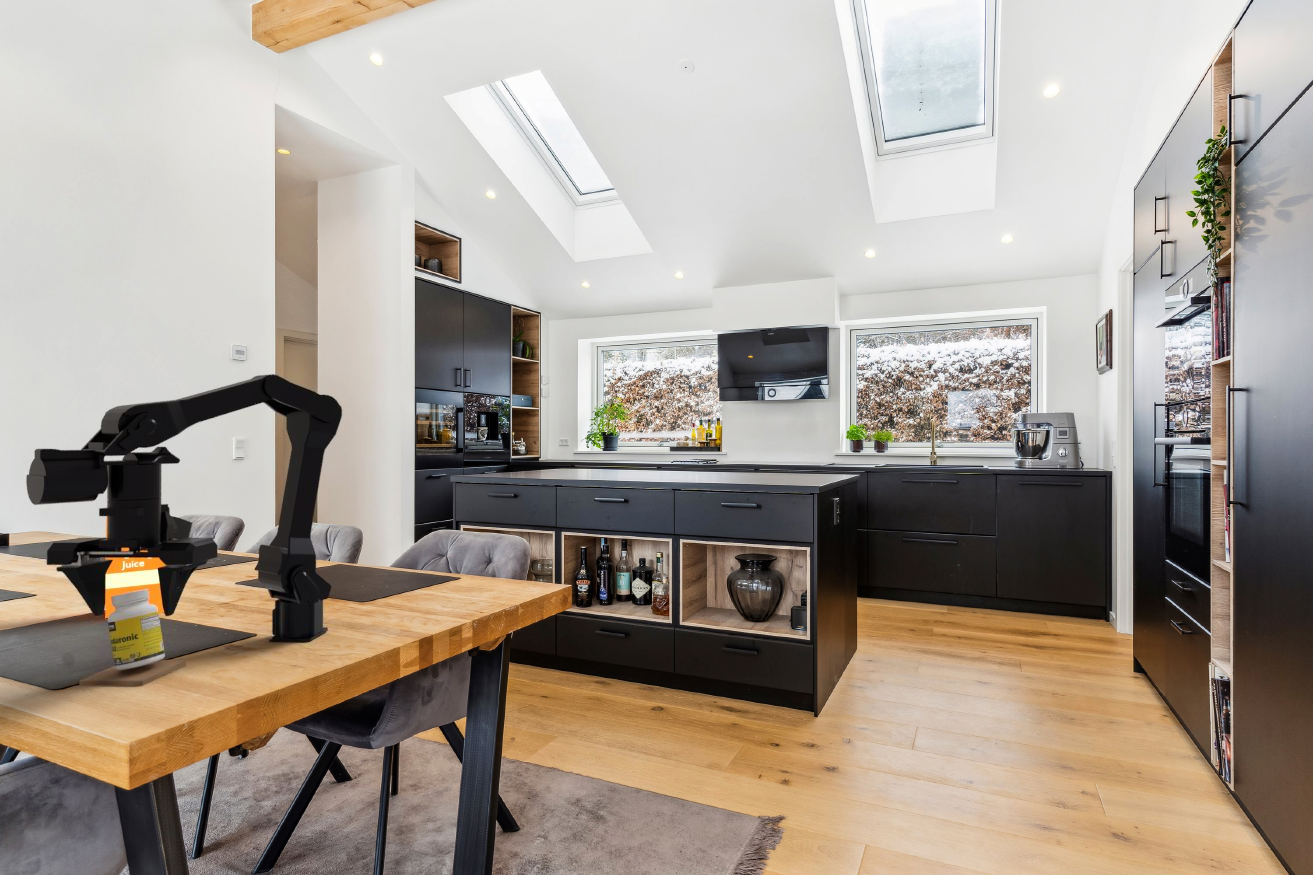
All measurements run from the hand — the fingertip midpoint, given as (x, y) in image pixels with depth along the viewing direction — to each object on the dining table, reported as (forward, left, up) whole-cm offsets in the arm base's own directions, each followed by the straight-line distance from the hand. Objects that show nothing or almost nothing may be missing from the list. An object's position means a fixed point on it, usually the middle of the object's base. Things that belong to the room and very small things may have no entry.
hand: (134, 615), depth 89 cm
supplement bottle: (-1, 0, -7) cm, 7 cm away
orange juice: (+26, -35, -9) cm, 45 cm away
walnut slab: (0, 0, -10) cm, 10 cm away
